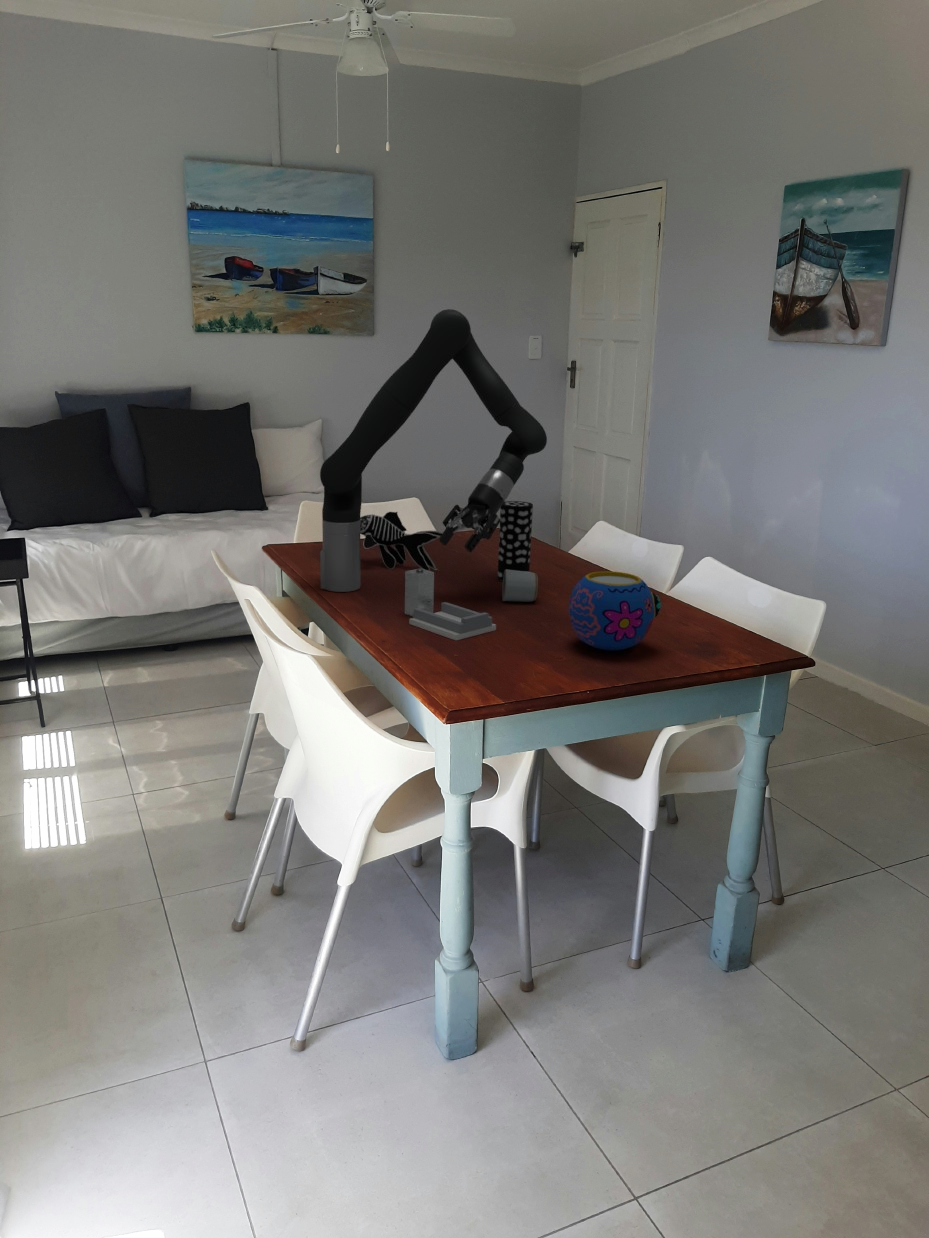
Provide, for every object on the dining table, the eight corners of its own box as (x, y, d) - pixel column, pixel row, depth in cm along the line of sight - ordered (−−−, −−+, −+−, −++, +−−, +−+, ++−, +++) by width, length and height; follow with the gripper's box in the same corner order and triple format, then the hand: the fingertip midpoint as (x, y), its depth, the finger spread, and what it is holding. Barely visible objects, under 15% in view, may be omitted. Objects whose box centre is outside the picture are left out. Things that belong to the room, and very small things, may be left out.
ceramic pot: (669, 652, 200) (676, 582, 196) (602, 665, 191) (608, 592, 187) (613, 630, 214) (618, 564, 210) (549, 641, 205) (553, 572, 201)
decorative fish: (365, 544, 276) (374, 494, 270) (446, 575, 267) (458, 524, 262) (335, 555, 262) (345, 502, 257) (420, 587, 254) (432, 534, 248)
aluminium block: (404, 613, 221) (405, 569, 218) (419, 610, 224) (420, 566, 222) (418, 618, 218) (418, 573, 215) (433, 614, 221) (434, 570, 218)
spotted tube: (492, 580, 253) (496, 504, 247) (503, 573, 260) (507, 500, 255) (523, 584, 250) (526, 507, 244) (533, 577, 257) (537, 503, 252)
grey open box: (409, 624, 214) (409, 605, 213) (449, 614, 222) (449, 596, 221) (456, 640, 203) (456, 621, 202) (496, 629, 211) (496, 611, 210)
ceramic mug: (538, 605, 232) (539, 573, 230) (503, 604, 231) (505, 573, 229) (532, 594, 242) (534, 564, 240) (499, 593, 241) (501, 563, 239)
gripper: (462, 478, 231) (425, 531, 227) (505, 486, 221) (468, 542, 217) (477, 498, 236) (441, 550, 232) (520, 507, 226) (483, 561, 222)
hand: (454, 546), depth 224 cm, fingers open, 8 cm apart
